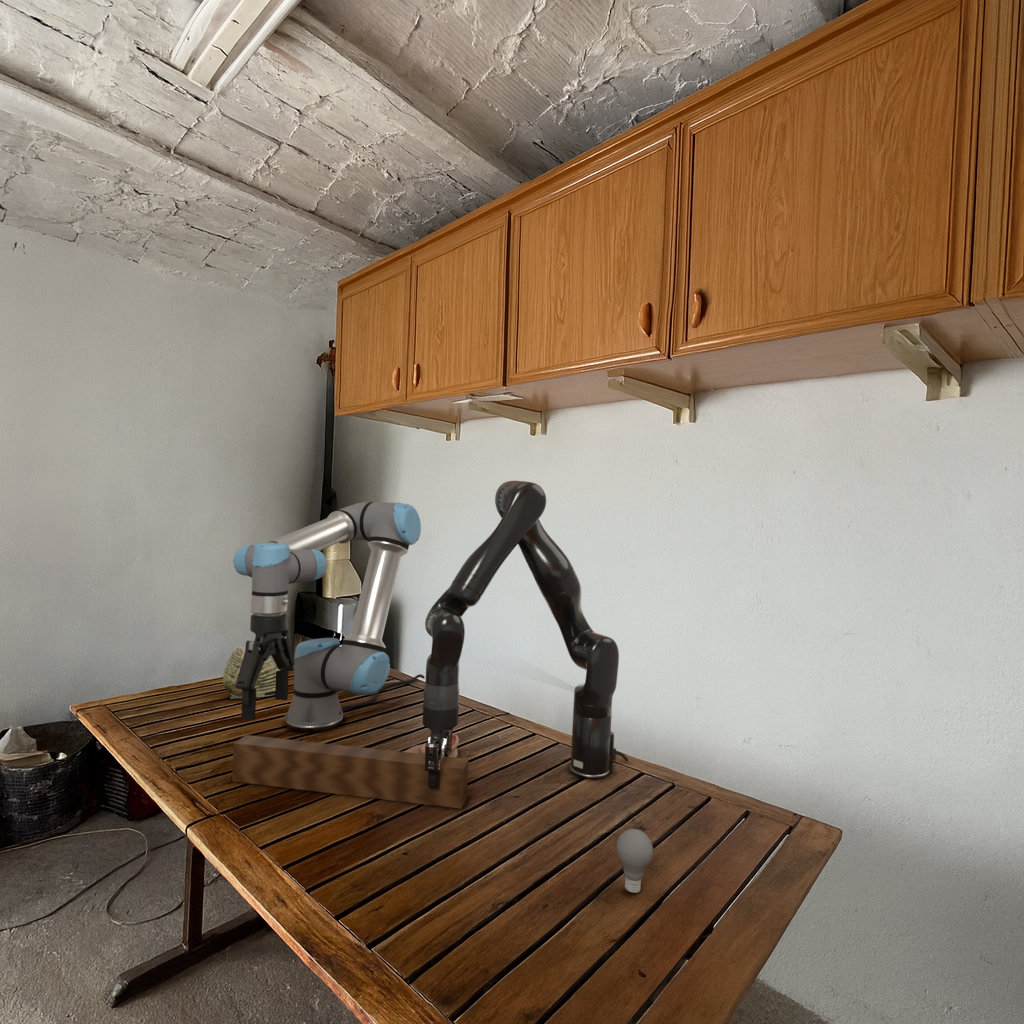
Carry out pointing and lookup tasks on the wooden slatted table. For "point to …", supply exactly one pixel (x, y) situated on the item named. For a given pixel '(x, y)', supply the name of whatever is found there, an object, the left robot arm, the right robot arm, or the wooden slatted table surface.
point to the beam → (348, 771)
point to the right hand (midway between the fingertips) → (437, 780)
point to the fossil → (264, 681)
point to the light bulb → (634, 857)
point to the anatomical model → (421, 748)
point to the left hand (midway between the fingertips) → (265, 708)
